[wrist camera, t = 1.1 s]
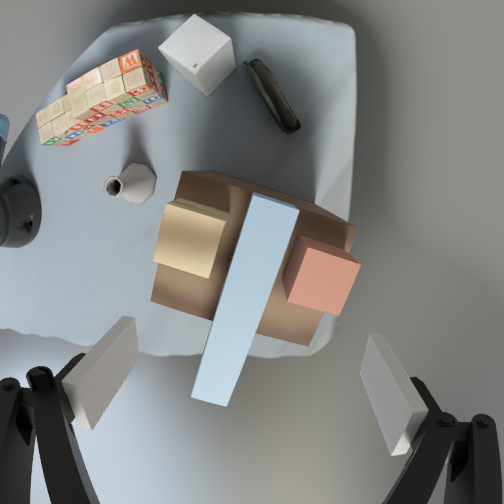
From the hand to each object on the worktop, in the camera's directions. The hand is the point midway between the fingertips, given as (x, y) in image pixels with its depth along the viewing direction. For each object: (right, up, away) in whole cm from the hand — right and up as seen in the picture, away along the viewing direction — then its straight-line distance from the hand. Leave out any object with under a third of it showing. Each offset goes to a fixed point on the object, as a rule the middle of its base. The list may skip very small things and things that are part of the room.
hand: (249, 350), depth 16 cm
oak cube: (-5, +7, +13) cm, 16 cm away
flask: (-20, +17, +34) cm, 43 cm away
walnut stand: (0, +10, +36) cm, 37 cm away
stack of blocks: (-25, +31, +30) cm, 50 cm away
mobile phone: (+3, +31, +30) cm, 44 cm away
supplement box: (-7, +36, +29) cm, 47 cm away
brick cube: (+6, +4, +14) cm, 16 cm away
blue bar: (-1, 0, +15) cm, 15 cm away
